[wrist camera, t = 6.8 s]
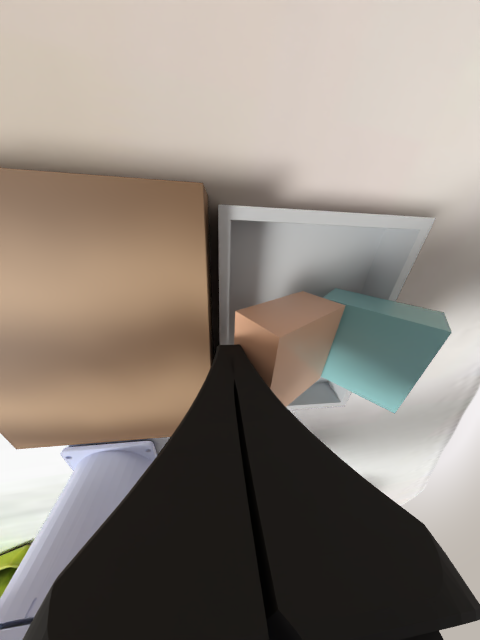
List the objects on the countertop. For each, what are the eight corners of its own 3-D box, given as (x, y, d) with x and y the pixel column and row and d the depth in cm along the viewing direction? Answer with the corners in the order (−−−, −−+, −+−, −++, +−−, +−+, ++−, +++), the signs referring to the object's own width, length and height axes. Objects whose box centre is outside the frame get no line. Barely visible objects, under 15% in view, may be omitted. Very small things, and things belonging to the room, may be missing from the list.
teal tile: (303, 367, 12) (316, 350, 14) (394, 413, 10) (397, 385, 11) (322, 297, 10) (335, 288, 12) (451, 332, 7) (443, 312, 9)
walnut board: (214, 391, 16) (213, 433, 13) (59, 400, 14) (16, 449, 11) (207, 195, 9) (202, 182, 6) (-81, 176, 8) (-281, 147, 5)
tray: (328, 381, 17) (345, 406, 14) (219, 387, 15) (220, 414, 13) (390, 218, 10) (435, 217, 8) (218, 208, 9) (218, 204, 7)
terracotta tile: (288, 357, 13) (319, 378, 11) (232, 391, 10) (263, 425, 9) (302, 290, 11) (345, 305, 9) (235, 311, 8) (279, 337, 6)
